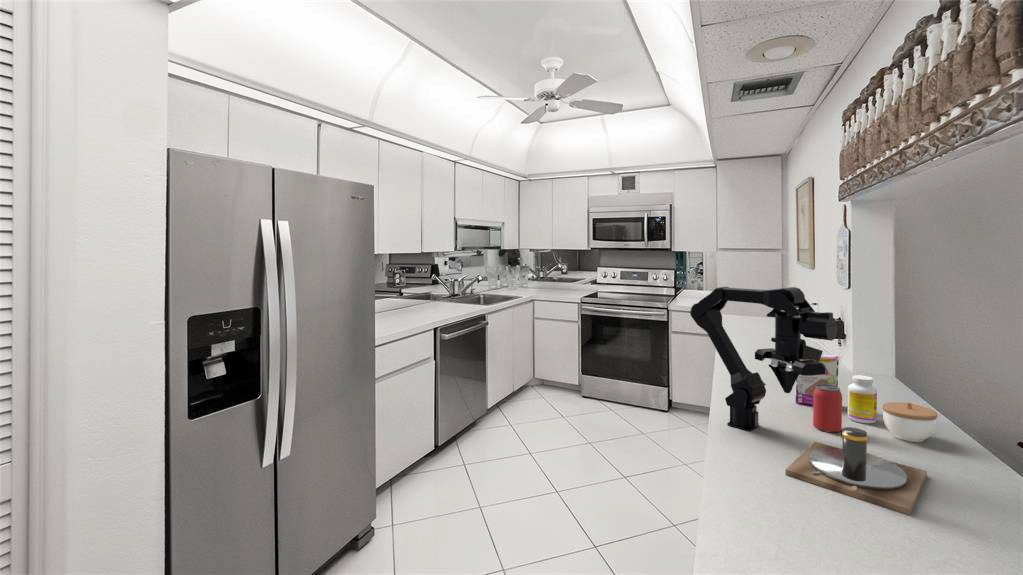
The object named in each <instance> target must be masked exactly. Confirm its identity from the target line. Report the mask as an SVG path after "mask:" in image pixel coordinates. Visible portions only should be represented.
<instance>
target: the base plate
mask: <svg viewBox="0 0 1023 575" xmlns="http://www.w3.org/2000/svg"><path fill="white" fill-rule="evenodd" d="M820 448H838V447H837V446H834V445H829V444H825V443H821V442H817V441H814V442H813V443H812V444H811V445H809V447H807V448H806V449H805V450H804V451H803V452H802V453H801V454H800V455H799V456H798V457H797V458H796V459H795V460H794V461H793V462H792V463H791V464H790V465H789V466H788V467H787V468H785V476H789V477H792V478H795V479H797V480H801V481H803V482H807V483H810V484H813V485H816V486H820V487H822V488H825V489H828V490H831V491H834V492H838V493H840V494H844V495H846V496H850V497H853V498H856V499H858V500H862V501H864V502H868V503H871V504H874V505H878V506H879V507H884V508H887V509H889V510H892V511H896V512H898V511H899V512H898V513H902V514H905V515H909V516H911V514H912V512H913V509H914V507H915V505H916V502H917V500H918V498H919V495H920V493H921V491H922V488H923V486H924V484H925V482H926V479H927V477H928V471H927V470H924V469H920V468H916V467H913V466H909V465H906V464H901V463H898V462H894V461H890V460H888V461H889V462H892V463H893V464H895V465H897V466H898V467H900V468H901V469H902V470H903V471H904V472H905V473H906V475H907V483H906V485H905V486H904V487H903V488H901V489H897V490H887V491H885V490H871V489H865V488H860V487H857V486H851V485H848V484H844V483H841V482H838V481H836V480H833V479H831V478H829V477H827V476H825V475H823V474H821V473H820V472H818V471H816V470H815V469H814V468H813V467H812V466H811V464H810V462H809V454H810V453H811V452H812V451H814V450H816V449H820Z"/></svg>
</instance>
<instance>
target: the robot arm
mask: <svg viewBox="0 0 1023 575" xmlns="http://www.w3.org/2000/svg"><path fill="white" fill-rule="evenodd" d="M728 302H739V303H746V304H747V303H749V304H760V305H763V306H765V307H767V308H770V309H771V311H770V312H768V313H767V314H766V317H767V318H774V319H775V320H774V321H775V322H774V324H775V325H774V337H771V340H770V341H771V342H772V343H774V348H758V349H756V350H755V352H754V360H757V361H760V362H762V361H764V360H765V359H769V360H770V361H771V364H768V367H769V368H770V369H771V371H772V372H773V374H774V376H775V377H776V379H777V381H778V383H779V384H780V387H781V388H782V390H783V392H784V393H785V394H791V392H792V390H793V387H794V385H795V384H796V379H797V377H798V376H799V375H804V376H810V375H825V374H826V366H825V365H824V364H823V363H820V362H819V361H820V358H821V355H823V350H821V349H819V348H815V347H812V346H809V345H807V343H806V342H807V341H806V340H805V339H803V338H801V336H803V337H804V338H807V339H808V338H809V339H817V340H824V341H833V340H835V338H836V336H837V334H838V330H839V328H838V324H837V321H836V319H835V318H834V313H833V312H830V311H829V312H827V311H825V312H819V311H815V310H814V308H813V307H812V306H811V304H810V303H809V302H808V300H807V299H806V298H805V293H804V292H803V291H802V290H801V289H800V288H799V287H797V286H795V287H794V286H791V287H783V288H774V289H773V288H772V289H758V288H756V289H754V288H741V287H740V288H738V287H729V286H720V287H716V288H715V289H713V290H712V291H711V292H710V293H709V294H707V295H706V296H705V297H703V298H702V299H701V300H699V301H698V302H697V303H694V304H693V305H692V306H691V308H690V312H689V314H690V317H691V318H692V320H693V321H694V322H695V324H696V325H697V326H698V327H699V328H700V329H702V330H704V331H705V332H706V333H707V335H708V337H709V339H710V341H711V342H712V344H713V346H714V348H715V350H716V352H717V353H718V355H719V357H720V359H721V360H722V363H723V365H724V366H725V368H726V369H727V371H728V374H729V376H730V388H731V390H732V392H731V394H729V395H727V397H725V398H724V399H725V403H726V406H728V407H729V421H728V422H727V423H726V424H727V426H731V427H733V428H736V429H741V430H745V431H748V432H751V431H753V430H754V429H756V428H758V427H759V426H760V423H759V411H758V409H757V405H759V404H760V402H761V400H763V399H764V398H766V393H767V389H766V386H767V384H766V383H765V382H764V381H763V379H762V378H761V375H760V374H759V372H757V371H756V372H752V371H750V370H749V369H748V368H747V366H746V364H745V363H744V361H743V359H742V358H741V356H740V354H739V352H738V351H737V349H736V347H735V346H734V344H733V342H732V340H731V338H730V337H729V335H728V333H727V332H726V329H725V328H724V325H723V315H722V310H723V309H724V308H725V307H726V305H727V303H728ZM800 359H802V361H800ZM807 359H810V360H807ZM811 359H813V360H811ZM814 360H815V361H814Z"/></svg>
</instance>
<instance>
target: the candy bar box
mask: <svg viewBox="0 0 1023 575" xmlns="http://www.w3.org/2000/svg"><path fill="white" fill-rule="evenodd" d="M807 360H810V359H807ZM811 360H813V359H811ZM839 360H840V359H839V357H838V355H835V354H834V355H832V354H822V355H821V358H820V361H819V362H820V363H823V364H824V365H825V366H826V374H825V375H810V376H804V375H799V376H798V377H797V379H796V381H795V404H799V405H807V406H813V393H814V390H815V388H816V385H819V384H826V385H833V386H836V387H839ZM800 361H802V359H800ZM814 361H815V360H814Z"/></svg>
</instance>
